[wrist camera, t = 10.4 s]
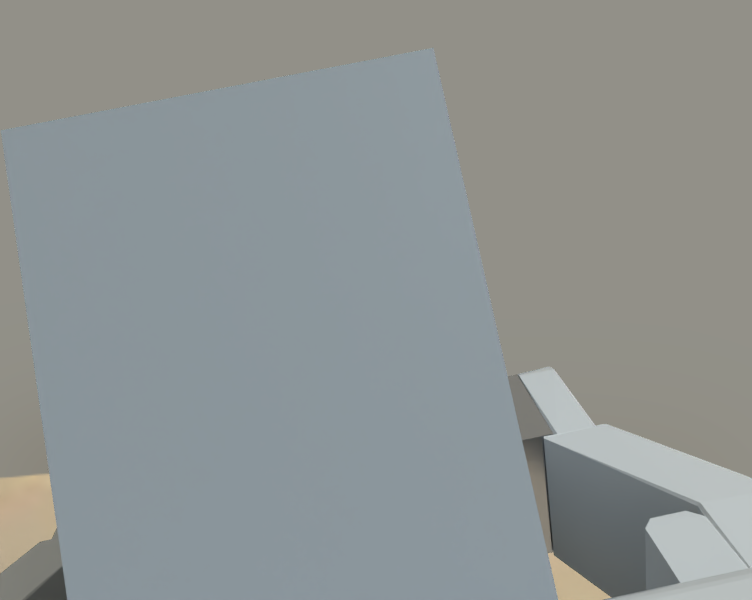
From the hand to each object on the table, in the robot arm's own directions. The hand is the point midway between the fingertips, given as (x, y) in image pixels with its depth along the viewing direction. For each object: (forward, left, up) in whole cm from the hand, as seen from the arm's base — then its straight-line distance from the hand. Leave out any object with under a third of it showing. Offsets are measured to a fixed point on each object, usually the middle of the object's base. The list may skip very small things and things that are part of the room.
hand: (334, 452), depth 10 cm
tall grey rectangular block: (0, -2, -9) cm, 9 cm away
